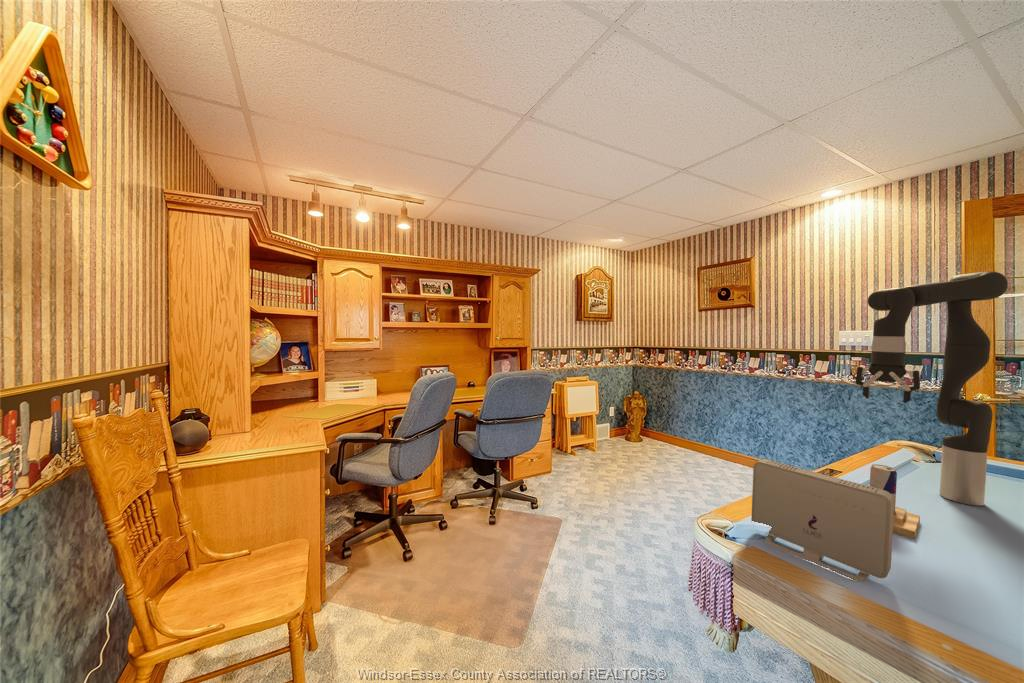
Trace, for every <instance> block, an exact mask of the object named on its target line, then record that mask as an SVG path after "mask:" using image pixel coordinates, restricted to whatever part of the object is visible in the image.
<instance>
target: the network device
mask: <svg viewBox="0 0 1024 683" xmlns="http://www.w3.org/2000/svg"><path fill="white" fill-rule="evenodd" d="M752 468H753V469H752V495H751V497H752V498H751V517H750V518H751V521H754V522H758V523H763V524H766V525H769V526H771V527H772V528H771V530H770V531H769V533H767V535H768V536H767V535H766V536H765V542H766V543H767V544H768V545H769V546H771V547H772V548H775V549H776V550H780V551H782V552H784V553H787V554H788V553H789V555H790V556H793V555H794V556H793V557H795V556H797V557H796V558H798V557H799V558H798V559H800V558H802V559H805V560H808V561H811V562H814V563H816V564H818V565H820V566H823V567H825V568H829V569H830V570H832V571H835V572H837V573H839V574H841V575H844V576H846V577H849V578H851V579H853V580H852V581H854V580H857V581H856V582H865V581H866V579H867V578H868V576H872V577H875V578H876V579H885V578H887V577H888V575H889V573H890V572H891V569H892V556H893V555H892V552H893V551H892V550H893V535H894V533H893V517H894V497H893V496H892V495H891V494H890V493H889V492H887V491H885V490H881V489H878V488H874V487H870V485H865V484H863V483H862V484H861V483H858V482H854V481H851V480H847V479H843V478H838V477H835V476H831V475H827V474H823V473H820V472H815V471H813V470H812V471H811V470H808V469H804V468H801V467H797V466H793V465H788V464H786V463H782V462H778V461H774V460H770V459H767V458H765V459H764V458H762V459H760V460H758V461H756V462H755V463H754V464H753V467H752ZM776 538H778V539H781V540H782V541H785V542H788V543H791V544H793V545H796V546H798V547H799V548H800V547H801V548H802V549H803V552H802V553H801V552H796V551H793V550H792V549H789V548H786V547H784V546H783V545H780V544H778V543H776V542H773V540H775V539H776ZM822 556H823V557H825V558H827V559H830V560H833V561H835V562H837V563H840V564H843V565H845V566H847V567H850V568H852V569H855V570H857V571H859V572H858V573H857V575H852V574H849V573H847V572H844V571H841V570H839V569H836V568H834V567H832V566H830V565H827V564H825V563H823V562H821V559H822V558H823V557H822ZM821 557H822V558H821ZM802 559H801V560H802ZM805 560H804V561H805Z"/></svg>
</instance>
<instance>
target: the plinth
mask: <svg viewBox="0 0 1024 683" xmlns="http://www.w3.org/2000/svg"><path fill="white" fill-rule="evenodd" d="M920 518H921V516H920V515H919V514H914V513H911V512H908V511H907V509H905V508H901V507H897V506H895V511H894V517H893V534H897V535H899V536H902V537H903V536H904V537H907V538H910V539H912V540H915V539H916V536H917V532H918V530H919V526H920V522H921V520H920Z"/></svg>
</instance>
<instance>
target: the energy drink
mask: <svg viewBox="0 0 1024 683" xmlns="http://www.w3.org/2000/svg"><path fill="white" fill-rule="evenodd" d="M897 479H898V472H897V470H896V468H894V467H892V466H888V465H883V464H875V463H873V464H871V466H870V472H869V486H870V487H874V488H878V489H881V490H885V491H887V492H889V493H890V494H891V495H892V496H893V497H894V511H895V507H896V505H897V504H896V502H897V500H896V498H897V482H898V480H897Z"/></svg>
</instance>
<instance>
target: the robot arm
mask: <svg viewBox="0 0 1024 683" xmlns="http://www.w3.org/2000/svg"><path fill="white" fill-rule="evenodd" d="M1008 286H1009V284H1008V280H1007V278H1006V276H1005V275H1004V274H1002V273H1000V272H998V271H980V272H972V273H962V274H956V275H954V276H953V277H951V278H950V280H948V281H939V282H938V281H936V282H928V283H927V282H926V283H920V284H919V283H918V284H914V285H908V286H904V287H893V288H892V287H891V288H885V289H877V290H875V291H873V292H872V293H870V294H869V296H868V298H867V305H868V307H870V308H871V309H872V310H875V311H877V312H879V311H880V312H884V311H886V312H887V311H889V312H888V314H887V315H886V316H885V317H881V318H880V317H879V318H878V319H876V320H875V321H874V323H873V337H872V342H871V348H870V349H871V354H870V355H871V357H870V366H869V367H864V366H857V368H856V375H855V376H856V377H855V384H856V385H857V386H858V385H859V386H861V387H862V396H863V397H865V399H868V400H869V399H870V392H871V387H870V386H871V385H872V384H873V383H874V382H876V381H878V382H888V383H897V384H898V385H899V386H900V387H902V388H903V402H902V403H904V404H907V403H908V402H910V401H911V400H912V392H913V391H918V390H920V389H921V376H920V375H921V374H920V373H921V372H920V371H919V370H917V369H916V370H908V369H906V366H905V365H906V348H907V342H906V324H907V322H908V319H909V317H910V316H911V313H912V310H913V308H914V307H924V306H929V305H935V304H941V303H946V307H947V325H946V326H947V327H946V337H945V342H944V343H945V345H944V356H943V372H942V379H941V385H940V386H941V387H940V390H939V395H938V398H937V404H936V418H937V420H938V422H939V423H941V424H943V425H947V426H953V427H957V428H963V429H967V431H966V433H965V434H961V435H960V434H959V435H946V436H945V435H944V436H943V437H942V442H941V444H942V445H941V446H942V447H941V462H940V479H939V480H940V482H939V495H940V496H941V497H943V498H945V499H947V500H950V501H953V502H957V503H959V504H965V505H970V506H977V507H979V506H980V507H981V506H984V505H985V498H986V483H987V482H986V481H987V462H988V450H989V449H988V448H989V447H988V446H989V444H990V440H991V439H990V438H991V432H992V431H991V429H992V424H993V417H994V416H993V414H994V413H993V409H992V407H991V406H990V404H988V403H987V402H982V401H976V400H971V399H970V400H968V399H961V398H960V395H961V393H962V392H961V391H962V389H963V387H964V386H965V384H966V383H967V382H968V381H969V380H970V379H972V377H974V376H975V375H977V374H978V373H980V371H981V370H983V368H984V367H985V366H986V365H987V364H988V362H989V361H990V353H991V352H990V351H991V340H990V337H988V334H987V333H986V332H985V331H984V329H983V328H981V326H980V325H979V324H978V323H977V321H976V320H975V318H974V316H973V314H972V302H975V301H977V302H978V301H989V300H994V299H997V298H1000V297H1001V296H1003V295H1004V294H1005V292H1006V291H1007V289H1008ZM867 372H868V373H870V374H871V375H872V376H871V377H870V378H868V379H867V380H866V381H863V375H865V374H866V373H867ZM906 374H907V375H909V377H910V378H912V381H913V383H912V384H913V385H909V384H908V383H907V382H906V381H905V380H904V379H903V377H904V376H905V375H906Z"/></svg>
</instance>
